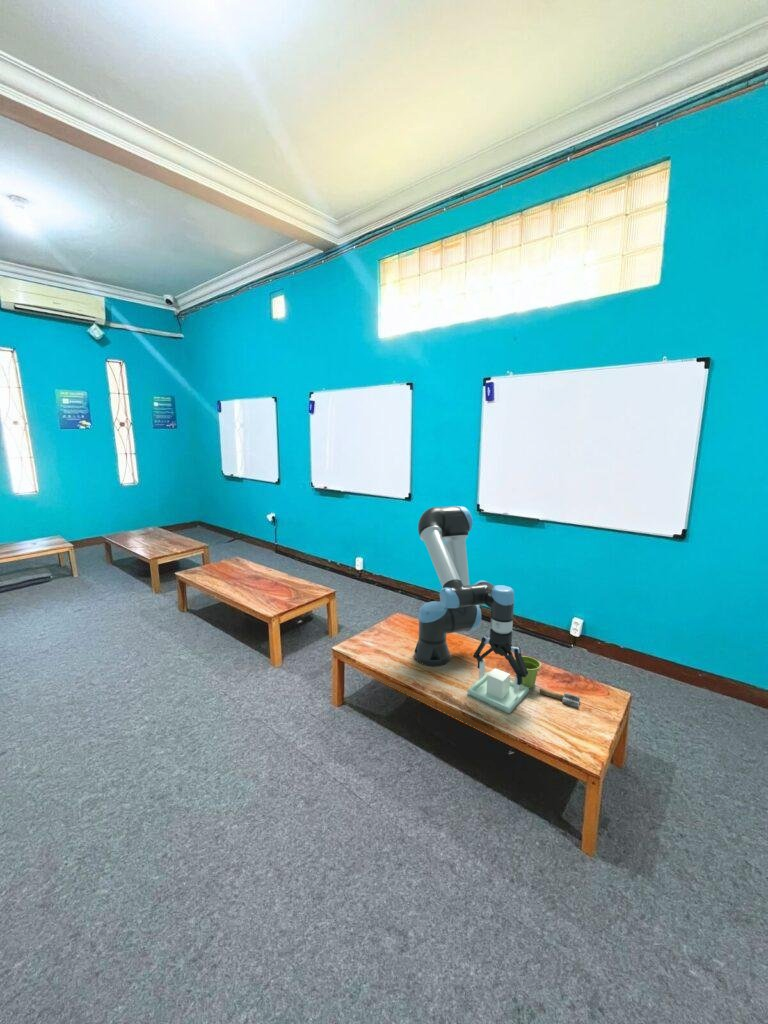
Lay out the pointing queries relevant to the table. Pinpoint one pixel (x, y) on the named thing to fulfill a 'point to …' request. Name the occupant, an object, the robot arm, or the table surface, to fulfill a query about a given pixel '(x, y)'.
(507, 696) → the tray
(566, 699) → the scoop
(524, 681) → the plant pot
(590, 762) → the table surface
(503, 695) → the block
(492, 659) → the table surface
